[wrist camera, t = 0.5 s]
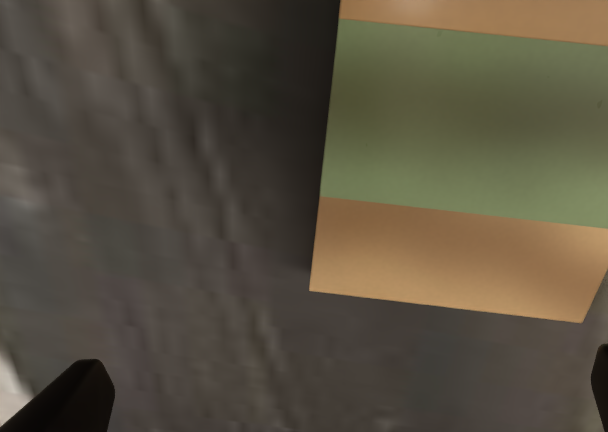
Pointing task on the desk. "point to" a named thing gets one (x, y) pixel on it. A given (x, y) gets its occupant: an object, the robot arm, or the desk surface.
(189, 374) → the desk surface
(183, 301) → the desk surface
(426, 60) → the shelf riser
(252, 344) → the desk surface
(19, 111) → the desk surface
